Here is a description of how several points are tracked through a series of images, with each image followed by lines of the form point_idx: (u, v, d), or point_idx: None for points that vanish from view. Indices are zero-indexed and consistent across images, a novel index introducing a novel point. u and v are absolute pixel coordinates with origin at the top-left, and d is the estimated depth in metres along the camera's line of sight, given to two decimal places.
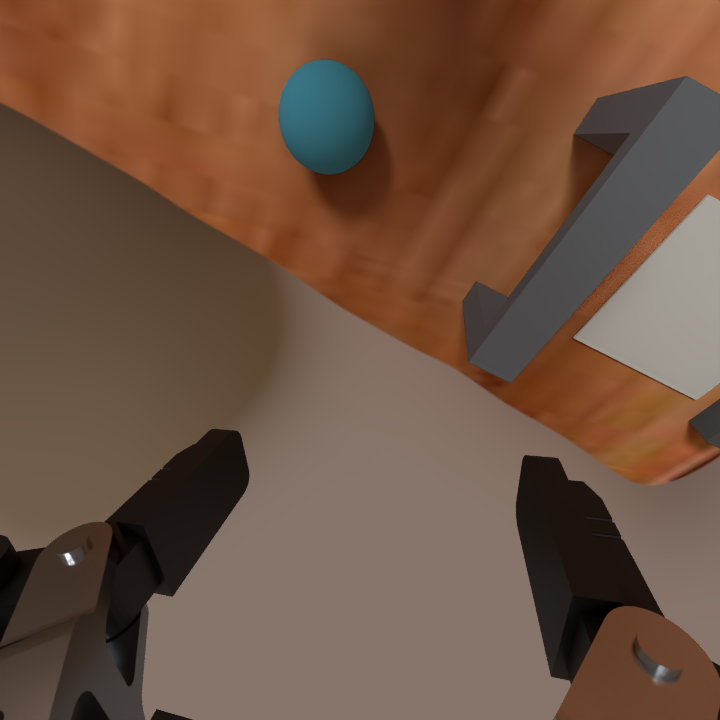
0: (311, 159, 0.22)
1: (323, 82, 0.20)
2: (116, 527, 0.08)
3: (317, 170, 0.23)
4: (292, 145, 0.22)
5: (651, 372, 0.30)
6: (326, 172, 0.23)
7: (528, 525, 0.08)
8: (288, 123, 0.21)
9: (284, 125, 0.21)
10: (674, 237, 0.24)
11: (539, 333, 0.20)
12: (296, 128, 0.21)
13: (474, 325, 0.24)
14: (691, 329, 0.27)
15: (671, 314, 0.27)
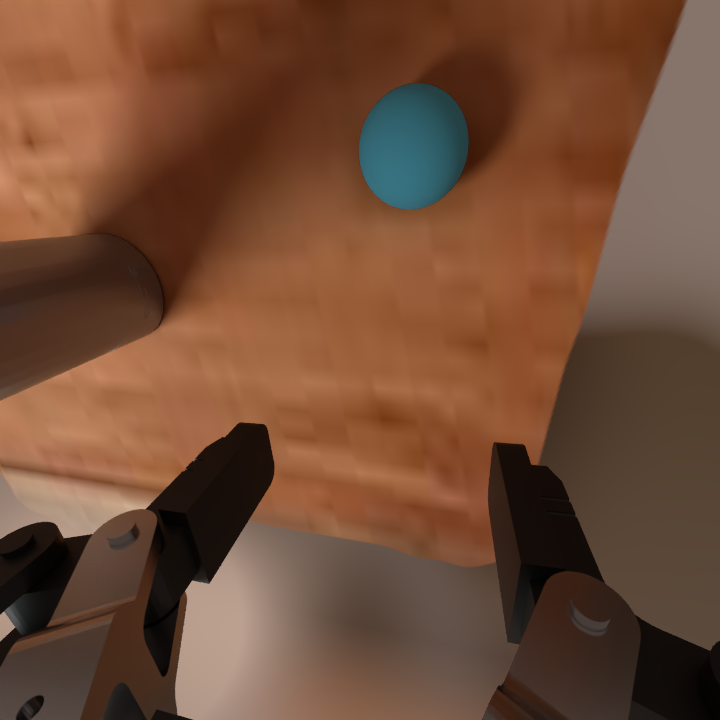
0: (451, 133, 0.17)
1: (373, 151, 0.18)
2: (156, 515, 0.08)
3: (463, 127, 0.18)
4: (445, 164, 0.18)
5: None
6: (461, 116, 0.18)
7: (495, 507, 0.09)
8: (423, 175, 0.18)
9: (429, 183, 0.18)
10: None
11: None
12: (425, 161, 0.17)
13: None
14: None
15: None
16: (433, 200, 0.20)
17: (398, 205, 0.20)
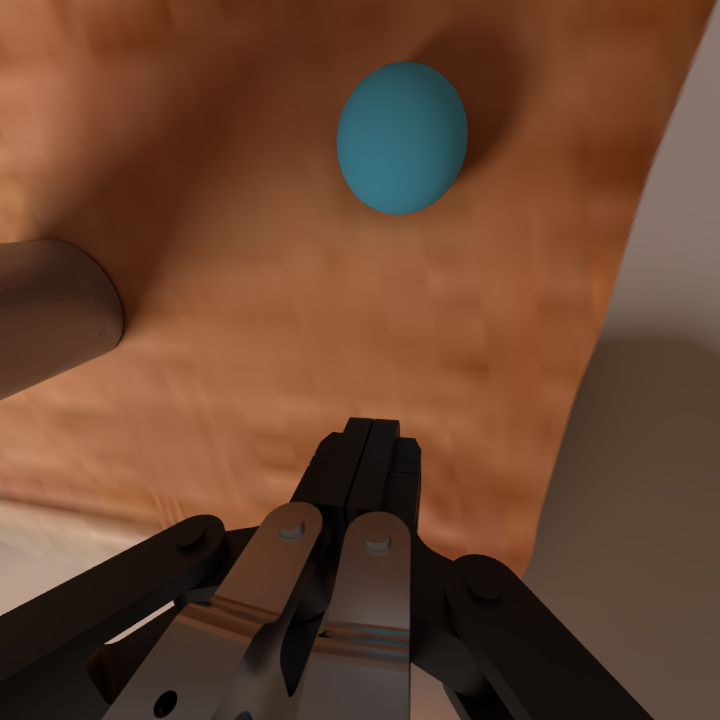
0: (446, 121, 0.14)
1: (352, 144, 0.15)
2: None
3: (461, 115, 0.15)
4: (440, 161, 0.15)
5: None
6: (459, 101, 0.15)
7: None
8: (413, 173, 0.15)
9: (420, 183, 0.15)
10: None
11: None
12: (415, 157, 0.14)
13: None
14: None
15: None
16: (425, 204, 0.17)
17: (384, 209, 0.17)
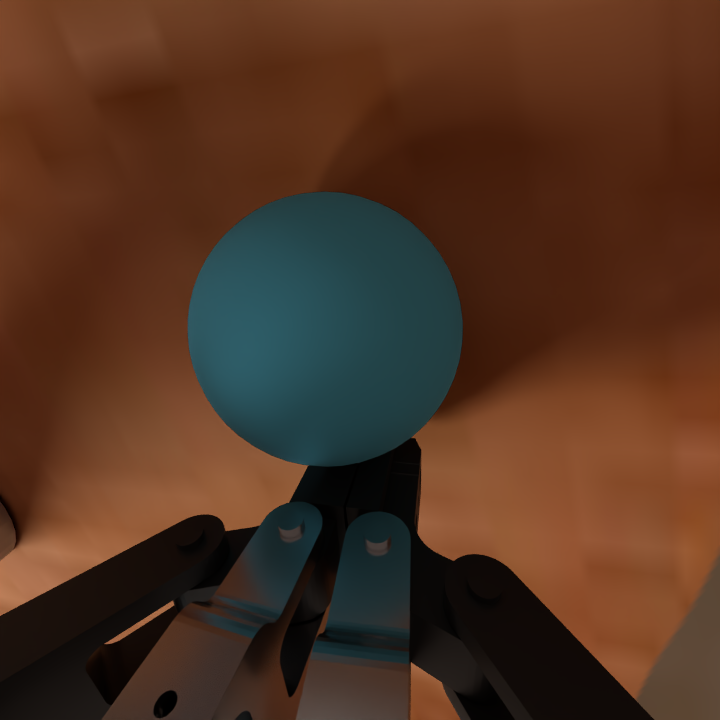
0: (410, 294, 0.06)
1: (195, 338, 0.06)
2: None
3: (445, 283, 0.07)
4: (402, 378, 0.06)
5: None
6: (438, 258, 0.07)
7: None
8: (335, 407, 0.06)
9: (358, 425, 0.06)
10: None
11: None
12: (333, 372, 0.05)
13: None
14: None
15: None
16: (382, 453, 0.07)
17: (290, 461, 0.08)
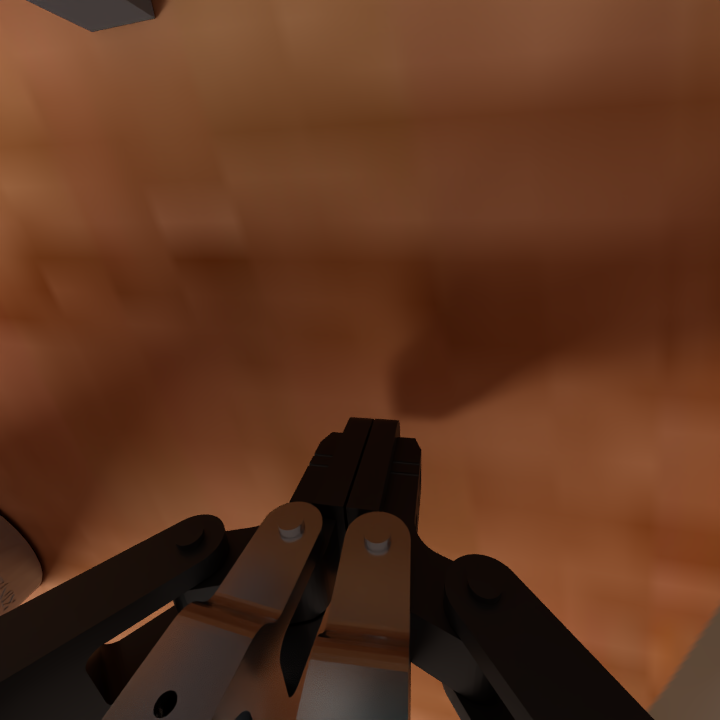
0: None
1: None
2: None
3: None
4: None
5: None
6: None
7: None
8: None
9: None
10: None
11: None
12: None
13: None
14: None
15: None
16: None
17: None
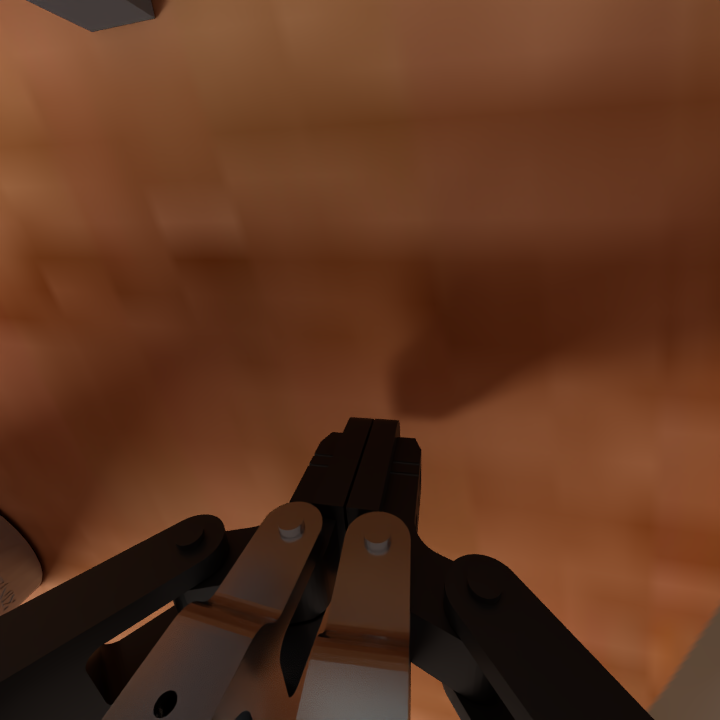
0: None
1: None
2: None
3: None
4: None
5: None
6: None
7: None
8: None
9: None
10: None
11: None
12: None
13: None
14: None
15: None
16: None
17: None
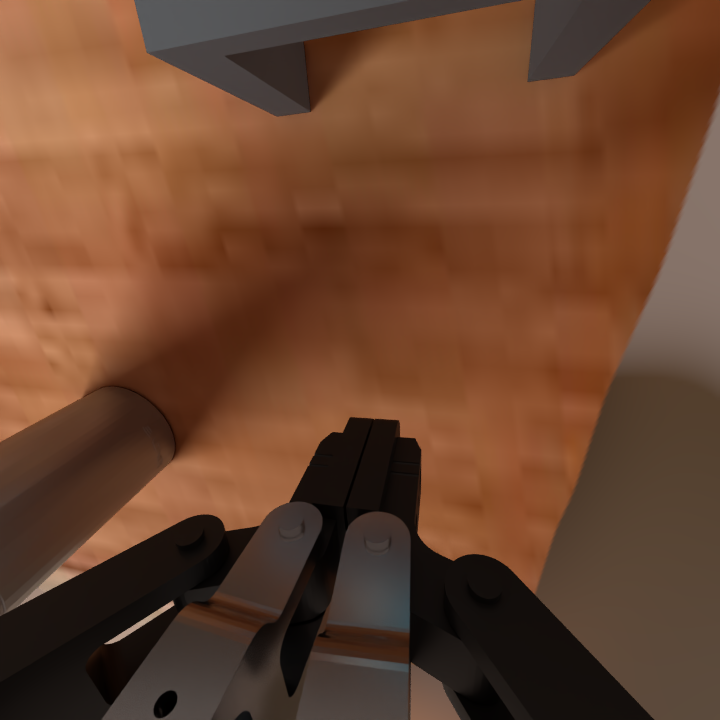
0: None
1: None
2: None
3: None
4: None
5: None
6: None
7: None
8: None
9: None
10: None
11: None
12: None
13: (603, 16, 0.11)
14: None
15: None
16: None
17: None
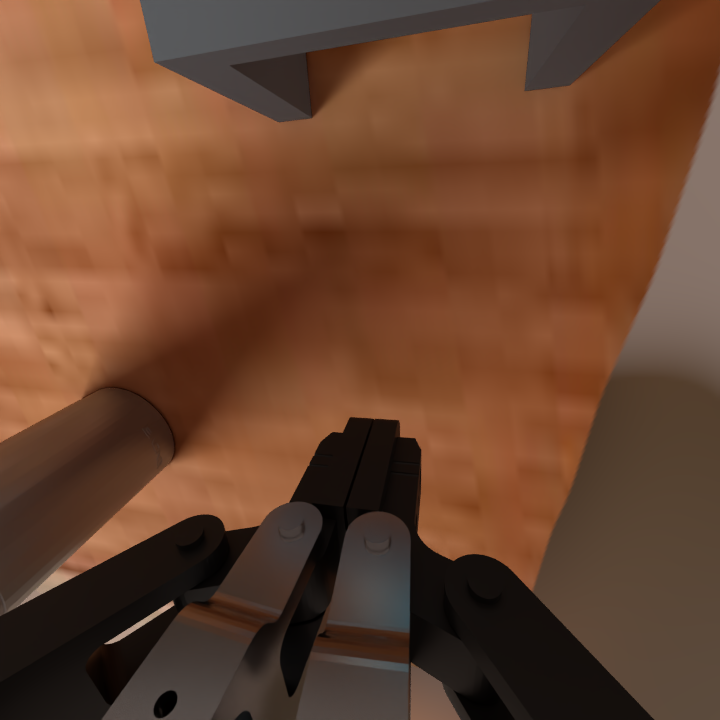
0: None
1: None
2: None
3: None
4: None
5: None
6: None
7: None
8: None
9: None
10: None
11: None
12: None
13: (597, 31, 0.11)
14: None
15: None
16: None
17: None
